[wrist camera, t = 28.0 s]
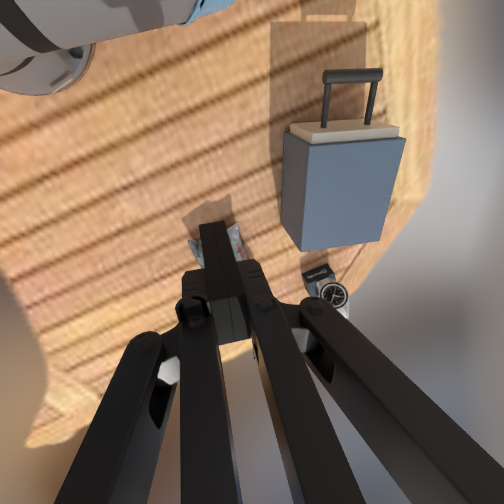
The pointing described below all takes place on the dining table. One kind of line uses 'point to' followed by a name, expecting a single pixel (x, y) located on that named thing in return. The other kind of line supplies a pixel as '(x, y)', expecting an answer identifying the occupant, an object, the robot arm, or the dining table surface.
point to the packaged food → (235, 243)
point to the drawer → (346, 128)
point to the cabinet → (337, 190)
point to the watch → (327, 288)
